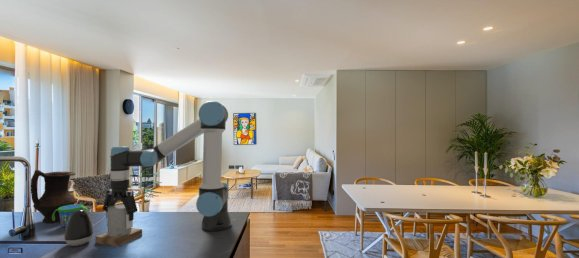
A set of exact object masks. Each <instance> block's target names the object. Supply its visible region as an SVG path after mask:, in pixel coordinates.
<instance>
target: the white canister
mask: <svg viewBox="0 0 579 258" xmlns="http://www.w3.org/2000/svg"><path fill="white" fill-rule="evenodd" d="M130 211H131V210H130ZM127 213H128V212H127V210H126V208H125V206H124V204H123V203H118V204H115V205H113V206H110V207H108V226H107V232H108V234H107V235H108V236H110V237H117V236H123V235H126V234H129V233H130V232H131V231H132V230H131V228H132V227H131V228H128V229H126V214H127Z"/></svg>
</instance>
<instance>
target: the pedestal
mask: <svg viewBox="0 0 579 258" xmlns="http://www.w3.org/2000/svg"><path fill="white" fill-rule="evenodd" d="M131 230H132V231H131V232H130V233H129V234H126V235H123V236H117V237H110V236H108V235H107V234H108V231H107V232H104V233H100V234H98V235H95V241H94V242H95V244H97V245H105V246H110V245H111V246H112V247H117V246H118V247H120V246H122V245H124V244H126V243H129V242H131V241H133V240H136V239H137V238H140V237H142V236H143V229H141V228H136V227H135V228H134V227H131Z"/></svg>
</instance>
